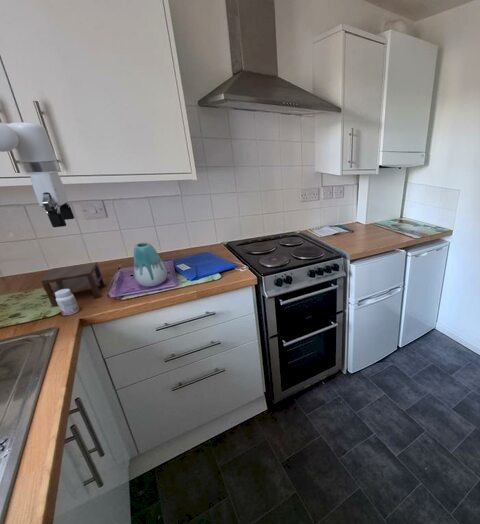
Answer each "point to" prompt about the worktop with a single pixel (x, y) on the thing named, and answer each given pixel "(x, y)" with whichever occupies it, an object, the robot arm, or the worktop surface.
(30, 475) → the worktop surface
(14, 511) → the worktop surface
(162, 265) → the vase
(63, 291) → the pill bottle
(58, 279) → the shelf
